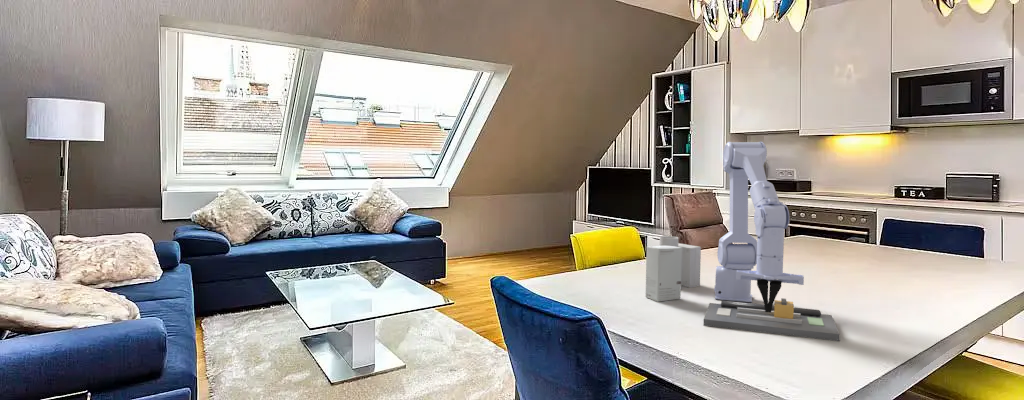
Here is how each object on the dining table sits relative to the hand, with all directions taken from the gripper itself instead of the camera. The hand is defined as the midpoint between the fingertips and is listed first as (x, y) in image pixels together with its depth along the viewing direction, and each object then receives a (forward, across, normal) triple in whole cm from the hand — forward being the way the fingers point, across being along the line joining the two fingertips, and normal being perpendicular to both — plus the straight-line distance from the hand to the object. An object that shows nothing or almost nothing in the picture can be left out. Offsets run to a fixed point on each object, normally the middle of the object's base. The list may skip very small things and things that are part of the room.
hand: (768, 311), depth 133 cm
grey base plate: (+3, 0, 0) cm, 3 cm away
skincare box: (+3, -27, +14) cm, 31 cm away
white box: (+3, -28, +32) cm, 43 cm away
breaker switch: (+1, +3, 0) cm, 3 cm away
